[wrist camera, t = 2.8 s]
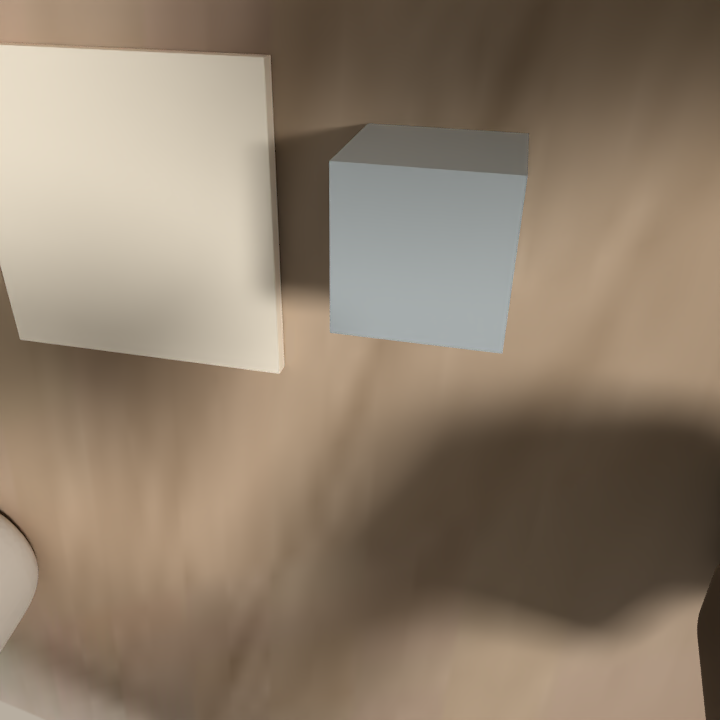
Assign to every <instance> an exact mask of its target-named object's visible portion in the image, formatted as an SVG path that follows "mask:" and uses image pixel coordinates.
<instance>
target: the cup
mask: <svg viewBox="0 0 720 720" xmlns="http://www.w3.org/2000/svg"><path fill="white" fill-rule="evenodd" d="M37 583H38V565H37V560H36V557H35V554H34V552H33V550H32V548H31V546H30V544H29V543H28V541H27V540H26V538H25V537H24V536H23V534H22V533H21V532H20V531H19V530H18V529H17V528H16V527H15V526H14V525H13V524H12V523H11V522H10V521H9V520H8V519H7V518H5V517H4V516H3V515H1V514H0V652H1V651H2V649H3V648H4V646H5V644H6V643H7V641H8V640H9V638H10V636H11V635H12V633H13V632H14V630H15V628H16V627H17V625H18V624H19V622H20V621H21V619H22V617H23V616H24V614H25V612H26V610H27V609H28V607H29V605H30V603H31V601H32V599H33V596H34V594H35V591H36V588H37Z"/></svg>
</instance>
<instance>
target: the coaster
mask: <svg viewBox="0 0 720 720" xmlns="http://www.w3.org/2000/svg"><path fill="white" fill-rule="evenodd" d="M0 266H1V270H2V273H3V277H4V281H5V285H6V288H7V292H8V296H9V300H10V303H11V307H12V311H13V315H14V318H15V322H16V326H17V330H18V333H19V337H20V340H26V341H34V342H41V343H49V344H57V345H64V346H72V347H80V348H87V349H95V350H102V351H110V352H118V353H125V354H133V355H141V356H148V357H156V358H164V359H171V360H179V361H186V362H194V363H202V364H209V365H217V366H225V367H232V368H240V369H248V370H255V371H263V372H271V373H278V374H280V372H281V371H282V369H283V367H284V366H285V365H284V343H283V321H282V298H281V276H280V254H279V231H278V209H277V187H276V164H275V142H274V120H273V97H272V75H271V55H261V54H240V53H218V52H197V51H175V50H153V49H132V48H110V47H89V46H67V45H46V44H24V43H2V42H0Z"/></svg>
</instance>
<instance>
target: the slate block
mask: <svg viewBox="0 0 720 720" xmlns="http://www.w3.org/2000/svg"><path fill="white" fill-rule="evenodd" d="M528 144H529V133H513V132H497V131H481V130H466V129H450V128H434V127H418V126H402V125H387V124H371V123H368V124H367V125H366V126H365V127H364V128H363V129H362V130H361V131H360V132H359V133H358V134H357V135H356V136H354V137H353V138H352V139H351V140H350V141H349V142H348V143H347V144H346V145H345V146H344V147H343V148H342V149H341V150H340V151H339V152H338V153H337V154H336V155H335V156H334V157H333V158H332V159H331V160H330V161H329V228H330V333H337V334H345V335H353V336H361V337H370V338H378V339H386V340H395V341H403V342H411V343H419V344H428V345H436V346H444V347H453V348H461V349H469V350H477V351H486V352H494V353H502V352H503V345H504V338H505V331H506V324H507V317H508V310H509V303H510V296H511V289H512V282H513V275H514V268H515V261H516V254H517V247H518V240H519V233H520V226H521V219H522V212H523V205H524V198H525V191H526V184H527V177H528Z"/></svg>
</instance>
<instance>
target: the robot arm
mask: <svg viewBox="0 0 720 720" xmlns="http://www.w3.org/2000/svg"><path fill="white" fill-rule="evenodd" d="M697 636H698V646H699V656H700V666H701V676H702V686H703V696H704V706H705V716H706V720H720V564H719V565H718V566H717V568H716V570H715V572H714V575H713V577H712V580H711V583H710V585H709V588H708V591H707V593H706V596H705V599H704V602H703V604H702V607H701V610H700V613H699V617H698V625H697Z"/></svg>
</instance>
